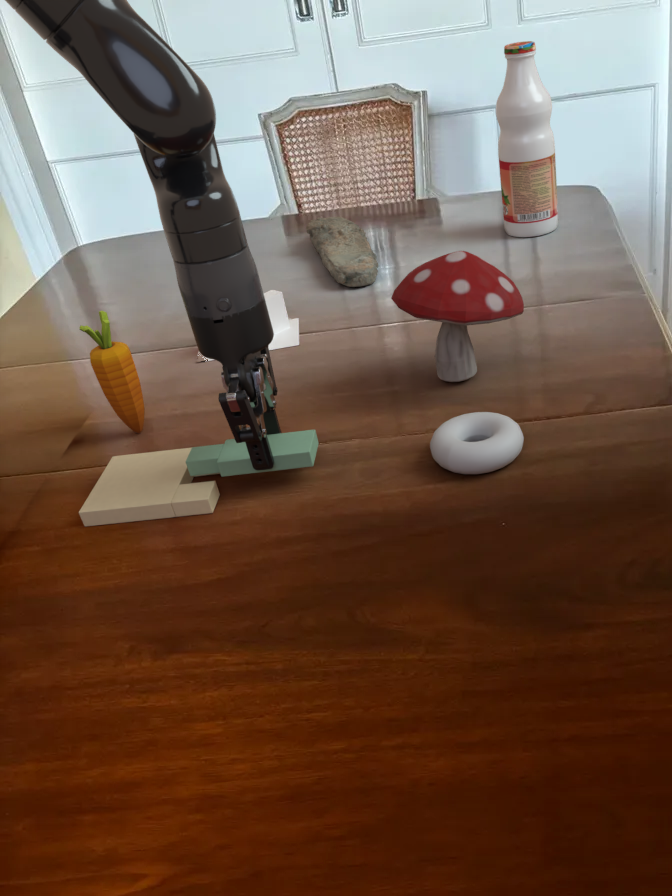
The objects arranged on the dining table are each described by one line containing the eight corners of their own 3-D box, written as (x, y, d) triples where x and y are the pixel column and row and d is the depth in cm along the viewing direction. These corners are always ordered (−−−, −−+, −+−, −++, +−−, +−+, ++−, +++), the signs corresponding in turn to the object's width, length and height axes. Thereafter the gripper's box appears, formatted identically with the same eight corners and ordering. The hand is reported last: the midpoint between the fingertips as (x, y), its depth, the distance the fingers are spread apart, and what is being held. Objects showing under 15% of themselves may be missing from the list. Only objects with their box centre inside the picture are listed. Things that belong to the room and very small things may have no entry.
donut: (535, 437, 98) (449, 431, 101) (533, 408, 96) (446, 403, 99) (509, 485, 91) (418, 476, 94) (507, 455, 89) (414, 447, 92)
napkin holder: (298, 317, 136) (289, 279, 133) (300, 344, 128) (291, 305, 124) (201, 334, 136) (189, 297, 132) (195, 363, 127) (183, 324, 123)
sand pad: (235, 456, 103) (230, 442, 102) (213, 513, 94) (208, 498, 92) (118, 469, 104) (112, 456, 103) (84, 526, 95) (78, 512, 94)
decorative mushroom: (428, 348, 121) (411, 233, 112) (543, 349, 116) (535, 229, 107) (386, 402, 109) (364, 279, 100) (512, 406, 104) (500, 277, 95)
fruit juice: (537, 240, 151) (525, 49, 134) (493, 235, 157) (477, 50, 139) (569, 224, 156) (562, 37, 139) (526, 219, 162) (514, 38, 145)
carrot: (130, 446, 108) (83, 327, 99) (112, 435, 112) (65, 318, 102) (166, 430, 111) (124, 312, 102) (148, 420, 114) (105, 304, 105)
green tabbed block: (318, 443, 98) (315, 428, 97) (313, 466, 94) (309, 451, 93) (198, 457, 99) (193, 443, 98) (188, 480, 95) (183, 466, 94)
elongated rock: (331, 303, 143) (392, 293, 145) (327, 270, 140) (389, 260, 141) (302, 235, 169) (353, 227, 171) (297, 205, 166) (350, 198, 168)
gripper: (202, 278, 92) (247, 427, 102) (167, 332, 80) (221, 494, 91) (274, 269, 91) (311, 420, 101) (248, 322, 80) (293, 486, 90)
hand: (268, 454), depth 96 cm, fingers closed on green tabbed block, 5 cm apart
